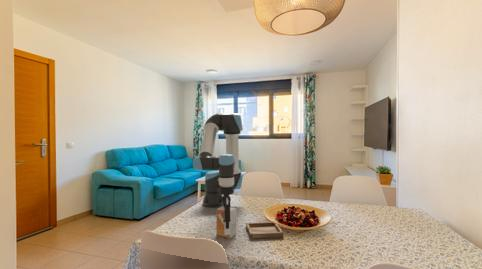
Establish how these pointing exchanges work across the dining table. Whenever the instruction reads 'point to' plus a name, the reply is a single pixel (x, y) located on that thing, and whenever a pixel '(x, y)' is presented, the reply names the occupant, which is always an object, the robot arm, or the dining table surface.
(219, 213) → the small box
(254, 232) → the tray
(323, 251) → the dining table surface
